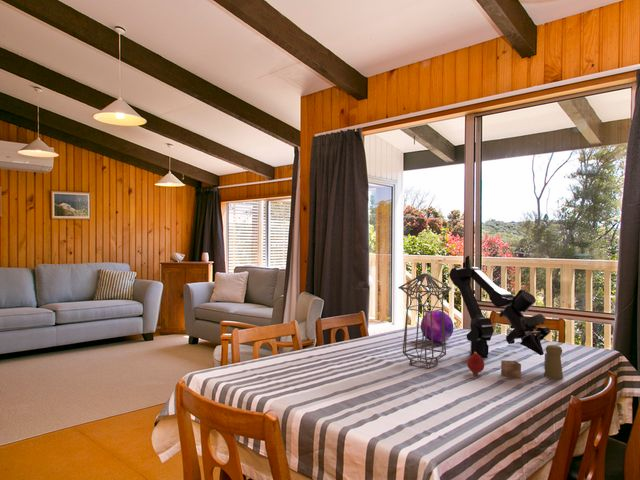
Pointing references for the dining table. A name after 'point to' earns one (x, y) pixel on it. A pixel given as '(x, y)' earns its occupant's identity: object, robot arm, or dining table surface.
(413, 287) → the geometric lantern
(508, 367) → the walnut marked block
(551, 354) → the cork
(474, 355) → the onion
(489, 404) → the dining table surface
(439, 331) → the decorative orb
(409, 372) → the dining table surface
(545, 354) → the slate marked block
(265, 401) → the dining table surface
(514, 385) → the dining table surface
